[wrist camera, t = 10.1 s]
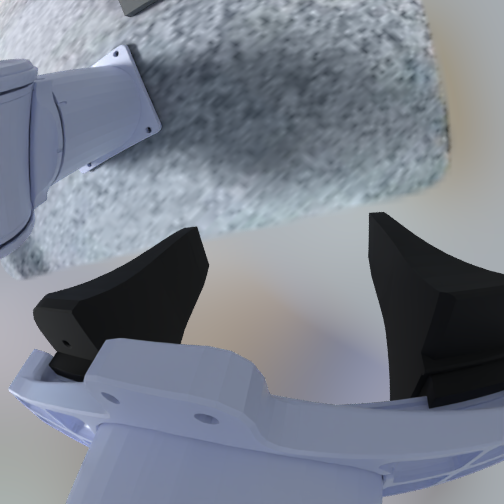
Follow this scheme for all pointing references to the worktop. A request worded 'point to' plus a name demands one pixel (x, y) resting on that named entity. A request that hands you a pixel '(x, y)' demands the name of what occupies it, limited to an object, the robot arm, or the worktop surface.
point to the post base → (134, 6)
